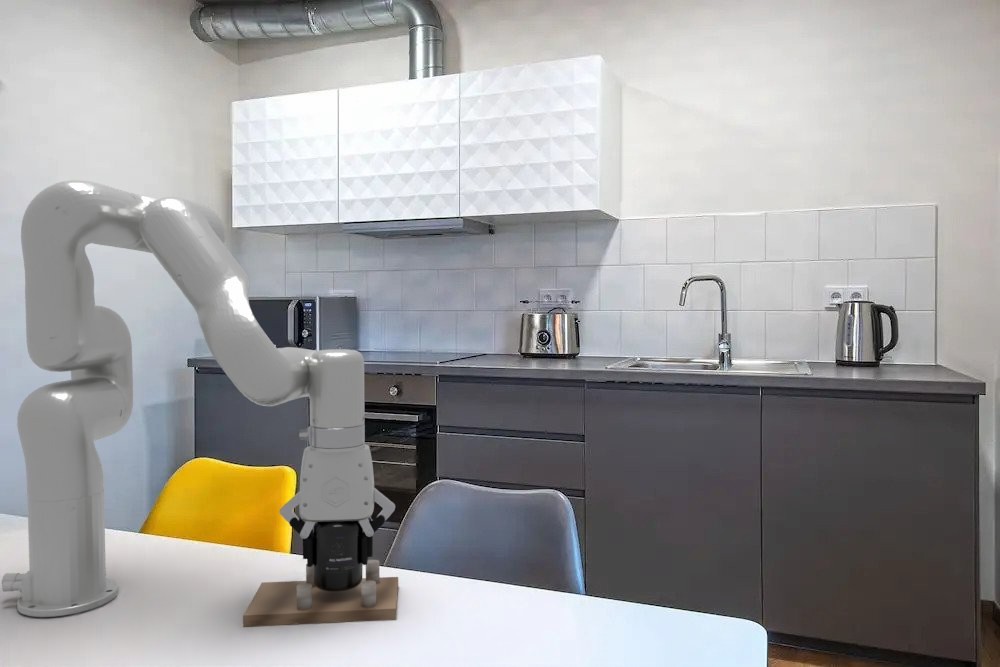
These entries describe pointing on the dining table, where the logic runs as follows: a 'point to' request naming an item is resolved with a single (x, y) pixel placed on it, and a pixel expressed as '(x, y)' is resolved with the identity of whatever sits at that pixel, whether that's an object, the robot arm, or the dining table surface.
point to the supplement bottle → (337, 555)
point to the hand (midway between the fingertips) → (338, 561)
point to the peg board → (323, 601)
